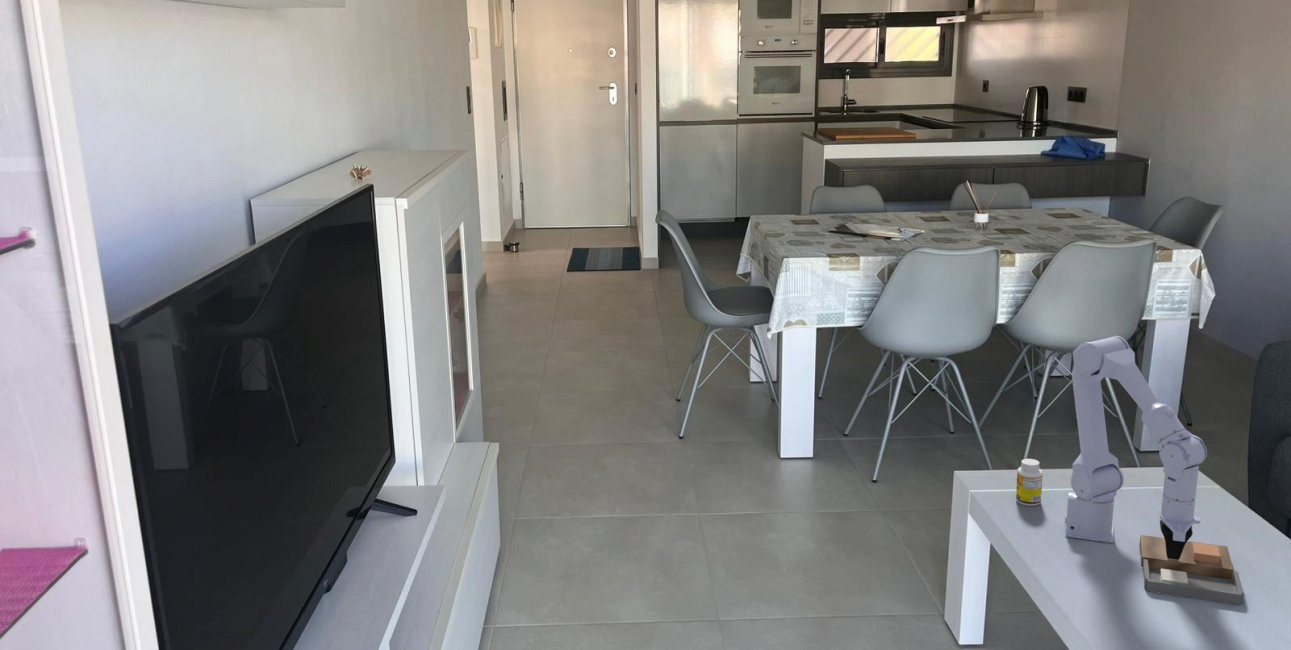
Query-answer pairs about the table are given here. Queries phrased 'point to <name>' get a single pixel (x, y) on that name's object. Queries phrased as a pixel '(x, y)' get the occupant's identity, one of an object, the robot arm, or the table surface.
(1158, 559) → the plate
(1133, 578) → the table surface
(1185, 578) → the tile cream
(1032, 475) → the supplement bottle
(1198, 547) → the tile terracotta
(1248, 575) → the table surface
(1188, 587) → the box
